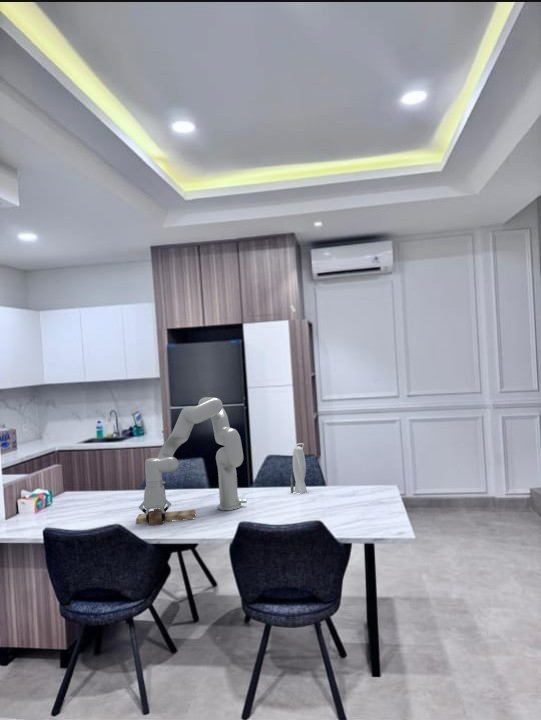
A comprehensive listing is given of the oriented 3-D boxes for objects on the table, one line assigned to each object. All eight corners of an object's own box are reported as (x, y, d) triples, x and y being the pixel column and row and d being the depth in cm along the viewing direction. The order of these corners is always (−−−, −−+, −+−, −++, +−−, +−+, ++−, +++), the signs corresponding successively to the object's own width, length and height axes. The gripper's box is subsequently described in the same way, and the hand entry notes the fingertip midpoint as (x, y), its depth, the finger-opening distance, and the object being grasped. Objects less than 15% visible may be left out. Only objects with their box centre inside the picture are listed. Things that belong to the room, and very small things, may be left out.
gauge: (164, 517, 242) (163, 503, 242) (161, 524, 231) (161, 509, 231) (152, 518, 241) (151, 504, 241) (149, 525, 230) (148, 510, 230)
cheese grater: (300, 490, 284) (298, 442, 285) (310, 492, 278) (307, 443, 278) (290, 493, 278) (287, 444, 279) (299, 495, 272) (296, 445, 273)
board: (195, 514, 245) (195, 509, 245) (194, 519, 237) (194, 514, 237) (139, 519, 242) (139, 514, 242) (136, 524, 234) (136, 518, 234)
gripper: (173, 481, 238) (174, 517, 237) (137, 483, 236) (139, 521, 235) (171, 484, 230) (173, 522, 230) (134, 487, 228) (136, 525, 228)
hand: (155, 521), depth 233 cm, fingers closed on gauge, 6 cm apart
